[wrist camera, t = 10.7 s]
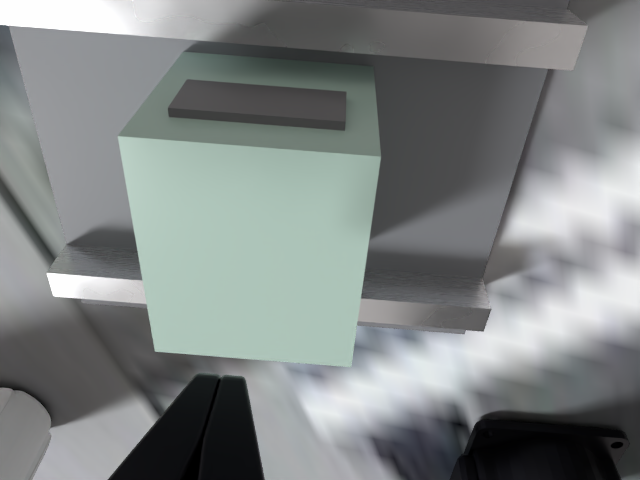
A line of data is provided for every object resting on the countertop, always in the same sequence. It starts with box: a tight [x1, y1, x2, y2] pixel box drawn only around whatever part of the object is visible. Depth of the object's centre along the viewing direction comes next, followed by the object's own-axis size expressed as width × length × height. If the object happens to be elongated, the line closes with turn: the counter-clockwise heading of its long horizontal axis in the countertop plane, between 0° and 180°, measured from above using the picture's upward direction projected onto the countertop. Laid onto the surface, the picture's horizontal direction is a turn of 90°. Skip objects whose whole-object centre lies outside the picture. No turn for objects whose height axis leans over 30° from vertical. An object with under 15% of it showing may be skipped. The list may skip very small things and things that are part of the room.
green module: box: [118, 52, 381, 367], centre depth 14 cm, size 5×6×5 cm
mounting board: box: [0, 0, 588, 334], centre depth 16 cm, size 14×13×2 cm
